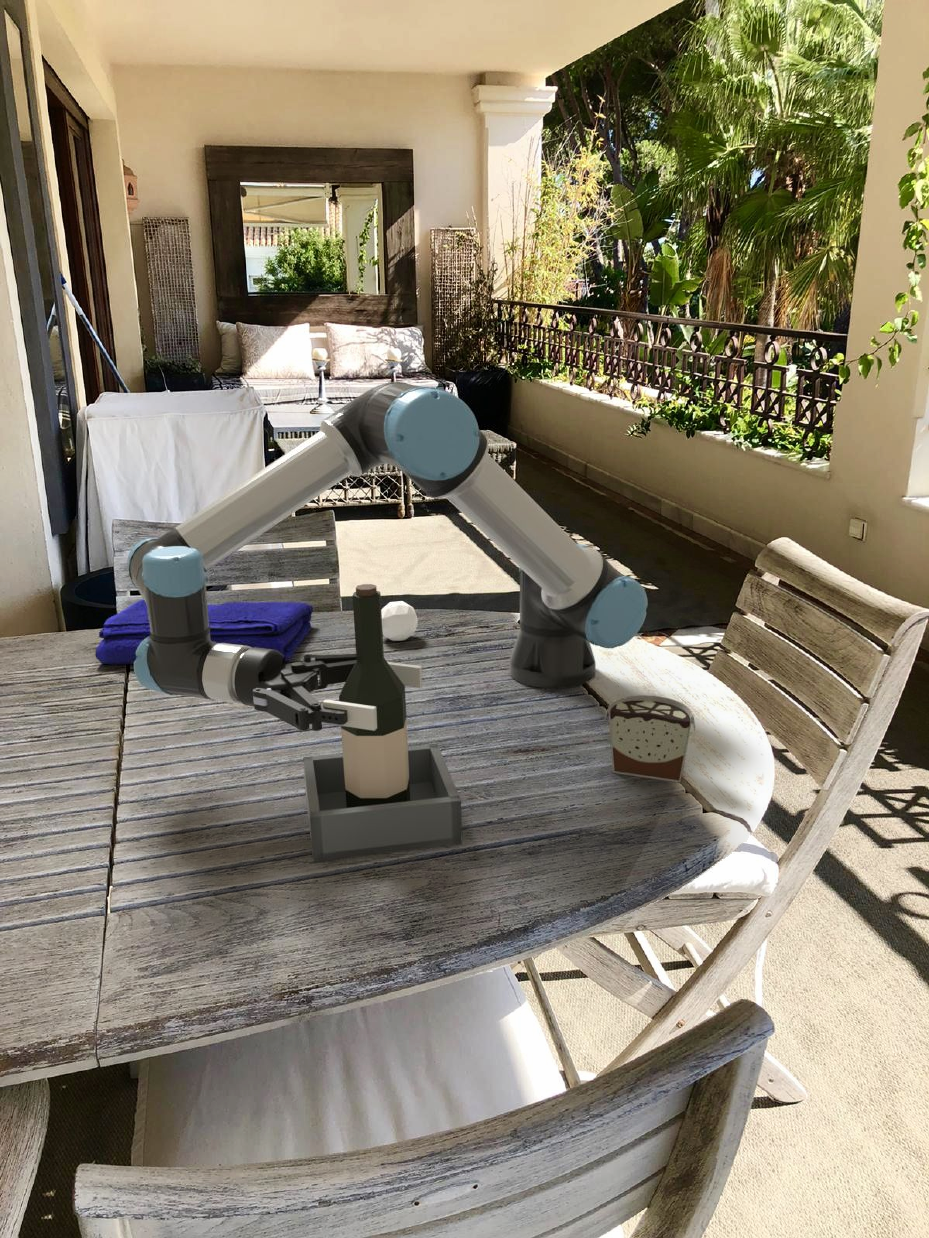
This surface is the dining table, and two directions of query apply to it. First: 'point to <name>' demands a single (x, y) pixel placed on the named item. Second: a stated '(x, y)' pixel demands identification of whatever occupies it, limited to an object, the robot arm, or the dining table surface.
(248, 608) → the towel
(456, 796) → the tote
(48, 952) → the dining table surface
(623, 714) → the food container
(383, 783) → the wine bottle
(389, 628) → the ball
